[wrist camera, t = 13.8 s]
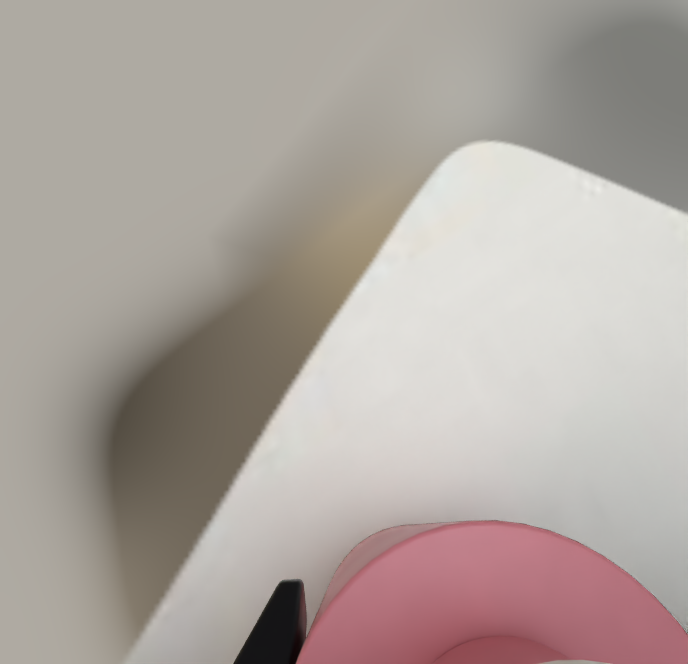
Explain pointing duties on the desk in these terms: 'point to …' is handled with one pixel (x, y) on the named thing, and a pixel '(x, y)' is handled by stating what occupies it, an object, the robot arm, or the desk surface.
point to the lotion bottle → (487, 602)
